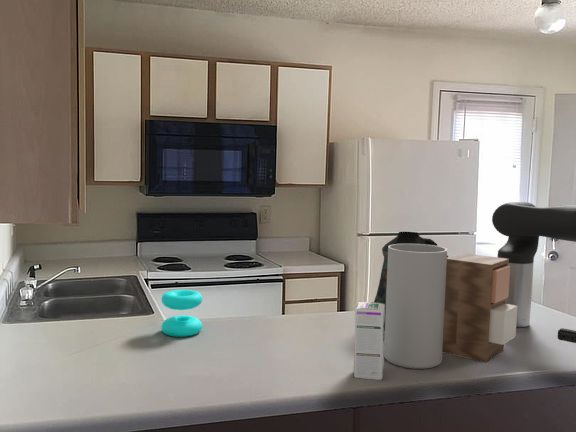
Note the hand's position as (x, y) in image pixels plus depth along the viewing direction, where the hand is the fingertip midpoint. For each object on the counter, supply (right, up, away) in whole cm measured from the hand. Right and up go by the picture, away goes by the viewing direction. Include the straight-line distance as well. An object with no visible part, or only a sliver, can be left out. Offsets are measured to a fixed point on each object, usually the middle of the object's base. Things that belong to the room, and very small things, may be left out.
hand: (558, 333), depth 123 cm
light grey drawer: (-10, -3, +9) cm, 14 cm away
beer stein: (-26, -5, +34) cm, 42 cm away
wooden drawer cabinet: (-14, -7, +13) cm, 20 cm away
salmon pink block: (-12, +6, +9) cm, 16 cm away
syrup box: (-41, -8, -3) cm, 42 cm away
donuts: (-84, -4, +23) cm, 87 cm away
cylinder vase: (-30, -7, +6) cm, 31 cm away
